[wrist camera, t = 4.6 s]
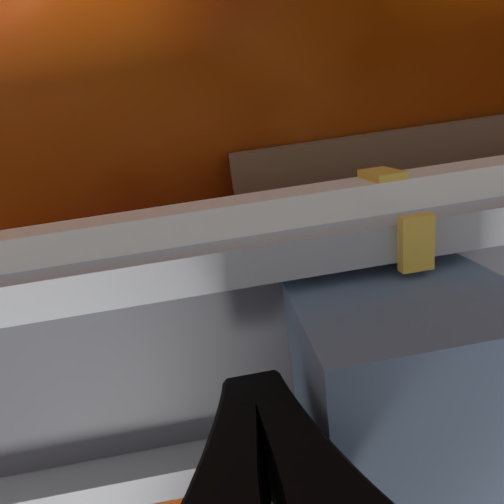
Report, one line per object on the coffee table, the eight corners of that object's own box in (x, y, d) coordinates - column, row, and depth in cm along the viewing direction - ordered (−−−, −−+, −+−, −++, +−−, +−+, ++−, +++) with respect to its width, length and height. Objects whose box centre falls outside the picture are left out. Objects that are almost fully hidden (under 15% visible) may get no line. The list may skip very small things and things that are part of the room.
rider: (450, 385, 12) (560, 502, 8) (297, 414, 12) (338, 549, 8) (456, 253, 11) (593, 321, 7) (281, 281, 10) (324, 371, 7)
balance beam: (708, 319, 18) (1093, 467, 10) (38, 443, 16) (-124, 743, 8) (780, 74, 15) (1449, 10, 7) (-63, 194, 13) (-506, 302, 5)
